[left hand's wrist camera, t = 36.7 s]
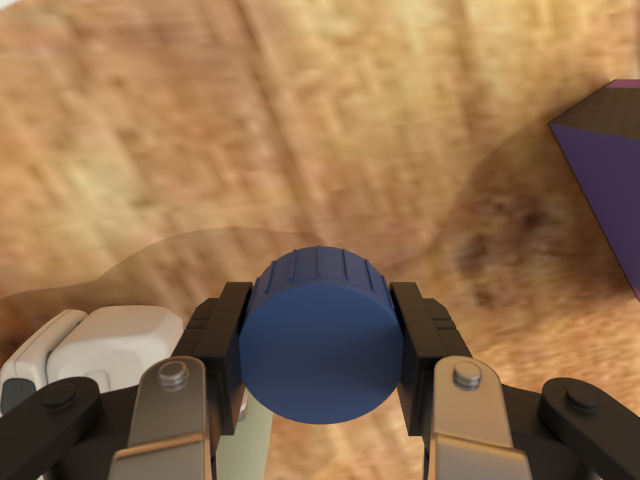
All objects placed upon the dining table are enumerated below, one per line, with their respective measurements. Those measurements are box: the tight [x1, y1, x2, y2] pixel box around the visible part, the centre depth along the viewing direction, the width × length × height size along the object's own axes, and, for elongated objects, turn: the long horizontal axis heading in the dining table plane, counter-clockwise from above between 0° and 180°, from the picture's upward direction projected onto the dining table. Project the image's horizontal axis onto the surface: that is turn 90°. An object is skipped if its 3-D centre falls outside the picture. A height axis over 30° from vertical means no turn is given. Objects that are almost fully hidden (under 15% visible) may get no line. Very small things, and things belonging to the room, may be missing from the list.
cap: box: [239, 246, 404, 424], centre depth 11 cm, size 4×4×2 cm
